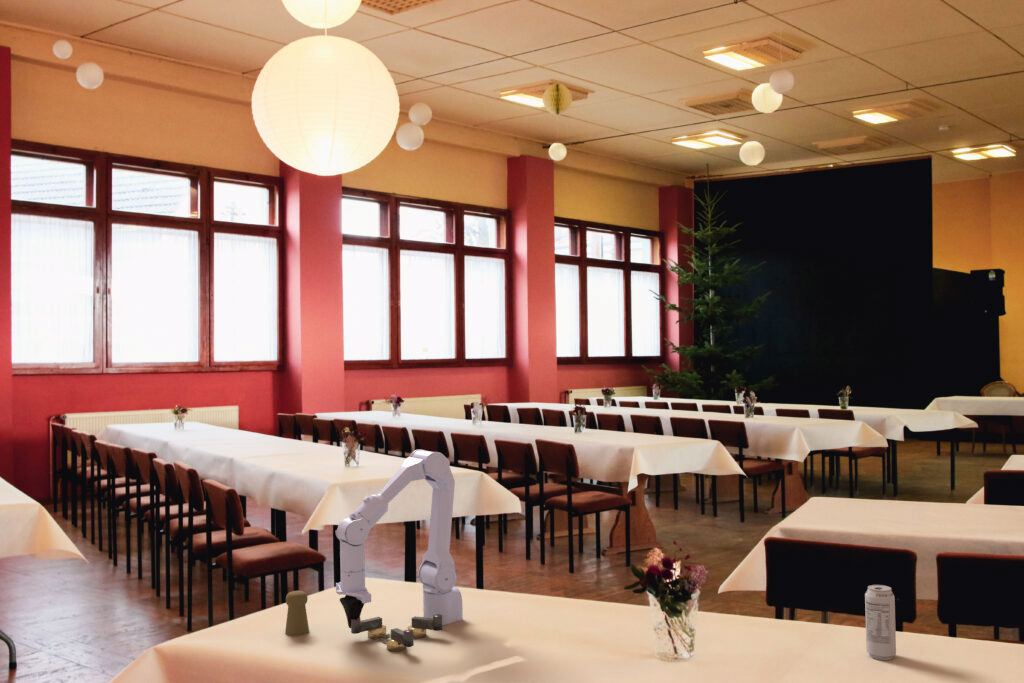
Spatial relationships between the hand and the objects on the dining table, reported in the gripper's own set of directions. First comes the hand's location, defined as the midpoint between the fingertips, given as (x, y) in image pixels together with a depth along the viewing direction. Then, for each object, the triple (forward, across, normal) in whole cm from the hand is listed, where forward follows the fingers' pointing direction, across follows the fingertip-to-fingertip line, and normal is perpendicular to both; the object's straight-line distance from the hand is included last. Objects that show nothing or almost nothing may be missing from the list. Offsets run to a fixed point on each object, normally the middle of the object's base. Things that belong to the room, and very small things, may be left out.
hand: (353, 627), depth 214 cm
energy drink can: (+4, +84, +85) cm, 120 cm away
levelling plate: (+4, +7, +7) cm, 11 cm away
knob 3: (+3, +10, +14) cm, 17 cm away
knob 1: (+3, +2, +3) cm, 4 cm away
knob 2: (+3, +15, +4) cm, 16 cm away
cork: (+4, -14, -8) cm, 17 cm away
